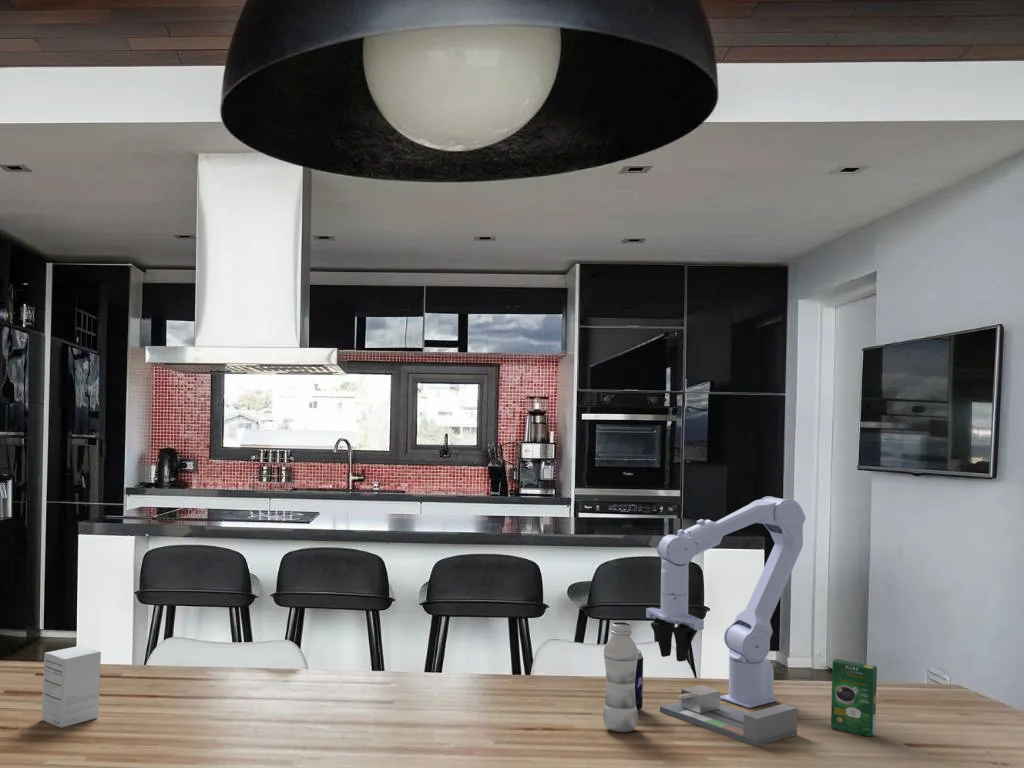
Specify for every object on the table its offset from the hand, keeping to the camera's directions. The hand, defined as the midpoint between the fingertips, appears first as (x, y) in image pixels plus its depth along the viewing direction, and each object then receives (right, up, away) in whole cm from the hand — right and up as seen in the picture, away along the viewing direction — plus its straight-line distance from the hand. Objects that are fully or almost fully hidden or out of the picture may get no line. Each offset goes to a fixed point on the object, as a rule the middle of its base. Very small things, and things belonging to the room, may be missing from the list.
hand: (673, 658), depth 185 cm
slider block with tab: (+3, -8, -7) cm, 11 cm away
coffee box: (+32, -10, -15) cm, 37 cm away
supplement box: (-117, -6, -19) cm, 119 cm away
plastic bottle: (-13, -8, -18) cm, 24 cm away
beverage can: (-10, -9, -6) cm, 15 cm away
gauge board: (+8, -9, -12) cm, 17 cm away
